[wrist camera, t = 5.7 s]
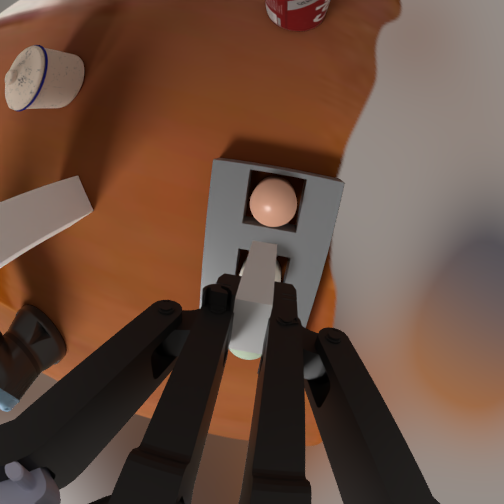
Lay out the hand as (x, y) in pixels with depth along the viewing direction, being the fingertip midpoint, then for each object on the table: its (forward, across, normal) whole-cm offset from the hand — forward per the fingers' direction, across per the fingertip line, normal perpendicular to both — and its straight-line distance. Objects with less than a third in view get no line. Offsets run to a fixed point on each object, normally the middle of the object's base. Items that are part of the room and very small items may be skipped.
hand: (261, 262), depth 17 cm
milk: (+17, +29, +3) cm, 34 cm away
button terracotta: (+16, 0, -1) cm, 16 cm away
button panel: (+17, 0, +8) cm, 19 cm away
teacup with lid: (+17, +34, -15) cm, 40 cm away
